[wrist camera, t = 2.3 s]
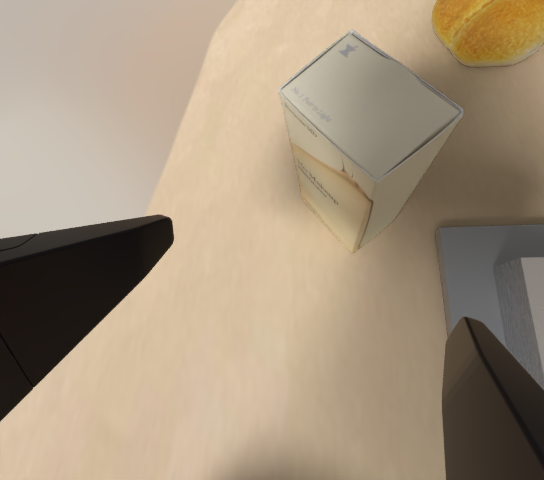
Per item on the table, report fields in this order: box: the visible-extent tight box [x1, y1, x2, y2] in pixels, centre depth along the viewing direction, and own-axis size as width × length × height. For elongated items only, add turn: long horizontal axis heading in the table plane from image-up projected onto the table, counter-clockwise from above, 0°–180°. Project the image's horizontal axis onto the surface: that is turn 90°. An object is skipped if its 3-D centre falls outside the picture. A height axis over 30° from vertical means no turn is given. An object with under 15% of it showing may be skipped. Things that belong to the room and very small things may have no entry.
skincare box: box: [279, 30, 464, 253], centre depth 17 cm, size 6×4×12 cm
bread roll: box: [432, 0, 544, 67], centre depth 23 cm, size 8×9×4 cm
